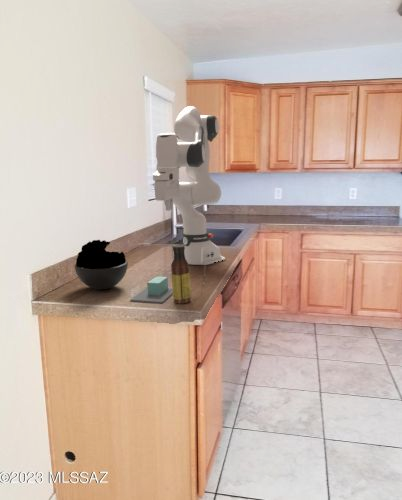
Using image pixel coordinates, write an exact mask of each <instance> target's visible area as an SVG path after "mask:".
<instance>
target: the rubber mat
mask: <svg viewBox="0 0 402 500" xmlns="http://www.w3.org/2000/svg"><path fill="white" fill-rule="evenodd" d="M172 296H173V288H169V287H168V289H167V290H165V291H164V292H163V293H162V294H160V295H148V286H147V287H145V288H144V289H143V290H141V291H140V292H138V294H136V295H135V296H133V297H132V298H130V299H129V300H130V302H134V303H135V302H136V303H137V302H138V303H151V304H164V303H165V302H166V301H167V300H168V299H169V298H170V297H172Z"/></svg>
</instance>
